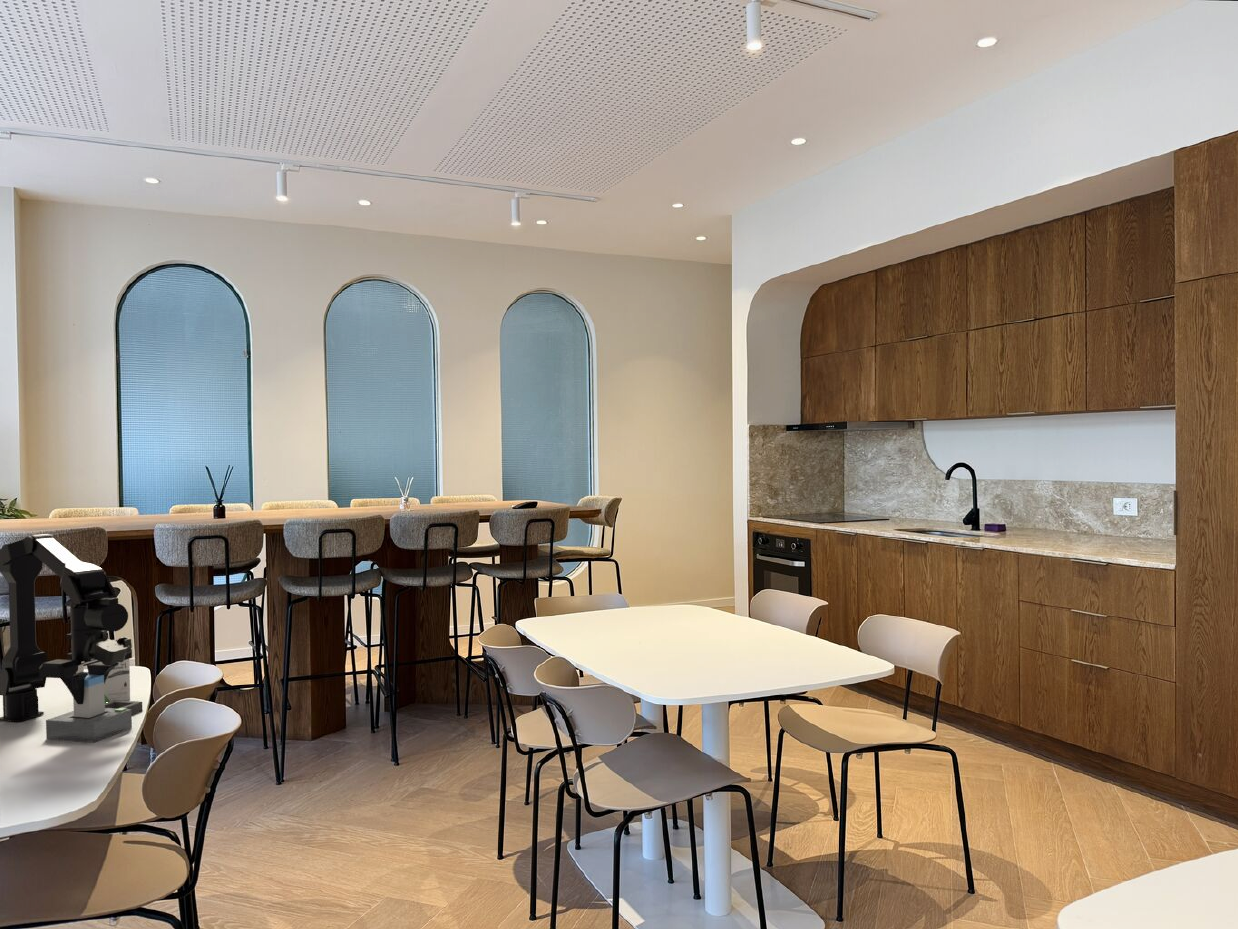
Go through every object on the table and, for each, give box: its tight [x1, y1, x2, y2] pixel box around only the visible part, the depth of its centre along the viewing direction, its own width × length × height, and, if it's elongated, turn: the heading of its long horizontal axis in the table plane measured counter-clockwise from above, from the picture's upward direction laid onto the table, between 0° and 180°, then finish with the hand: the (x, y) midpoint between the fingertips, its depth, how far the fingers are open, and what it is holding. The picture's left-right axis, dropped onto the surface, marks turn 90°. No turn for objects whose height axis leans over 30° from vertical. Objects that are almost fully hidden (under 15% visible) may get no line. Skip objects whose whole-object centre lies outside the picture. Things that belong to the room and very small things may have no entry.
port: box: [45, 708, 133, 744], centre depth 189 cm, size 12×10×4 cm
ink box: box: [91, 659, 131, 703], centre depth 215 cm, size 9×5×12 cm, turn 123°
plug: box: [72, 674, 105, 718], centre depth 189 cm, size 4×4×8 cm
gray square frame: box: [105, 700, 143, 715], centre depth 203 cm, size 8×8×2 cm
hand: (88, 701), depth 189 cm, fingers closed on plug, 4 cm apart
